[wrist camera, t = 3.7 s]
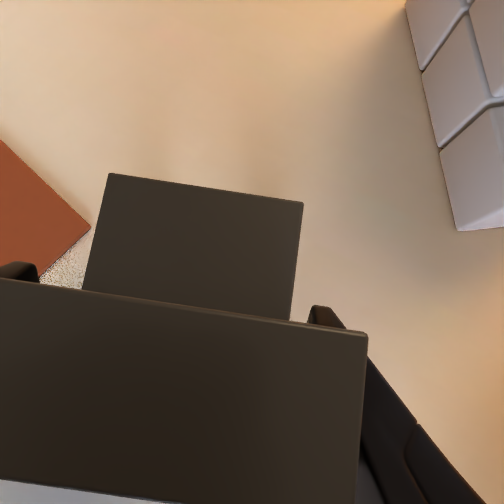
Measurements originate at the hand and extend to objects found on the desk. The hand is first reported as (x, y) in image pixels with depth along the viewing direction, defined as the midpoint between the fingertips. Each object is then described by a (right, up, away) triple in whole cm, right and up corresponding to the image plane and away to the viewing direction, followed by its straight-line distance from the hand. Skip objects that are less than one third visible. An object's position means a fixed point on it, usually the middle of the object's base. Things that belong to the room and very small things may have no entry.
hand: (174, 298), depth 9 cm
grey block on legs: (0, -1, +8) cm, 8 cm away
